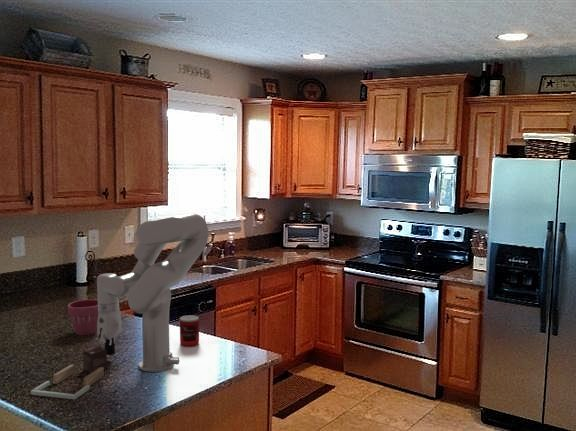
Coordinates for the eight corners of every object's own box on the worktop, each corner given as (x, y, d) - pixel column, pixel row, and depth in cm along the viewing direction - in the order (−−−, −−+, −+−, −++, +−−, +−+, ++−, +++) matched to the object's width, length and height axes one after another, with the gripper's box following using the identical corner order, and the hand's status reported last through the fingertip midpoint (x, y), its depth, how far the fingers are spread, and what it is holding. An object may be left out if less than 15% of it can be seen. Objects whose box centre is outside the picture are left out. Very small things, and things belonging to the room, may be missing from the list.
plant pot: (61, 334, 244) (60, 305, 243) (84, 325, 257) (83, 297, 256) (88, 338, 239) (87, 308, 238) (110, 329, 252) (109, 300, 251)
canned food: (191, 339, 239) (191, 313, 237) (203, 344, 233) (202, 317, 232) (176, 343, 233) (175, 317, 232) (187, 348, 228) (187, 321, 226)
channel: (104, 375, 199) (103, 367, 199) (87, 387, 189) (87, 378, 189) (71, 372, 202) (70, 364, 201) (53, 383, 192) (53, 374, 192)
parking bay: (90, 388, 188) (90, 385, 188) (74, 399, 180) (74, 395, 179) (47, 384, 191) (47, 380, 191) (30, 394, 183) (30, 390, 183)
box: (98, 365, 209) (97, 345, 209) (107, 368, 206) (106, 349, 205) (83, 369, 205) (82, 349, 204) (92, 373, 201) (91, 353, 200)
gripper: (106, 312, 205) (108, 362, 206) (127, 302, 219) (129, 348, 221) (87, 311, 206) (89, 360, 208) (110, 301, 221) (111, 347, 223)
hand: (109, 354), depth 215 cm, fingers closed
